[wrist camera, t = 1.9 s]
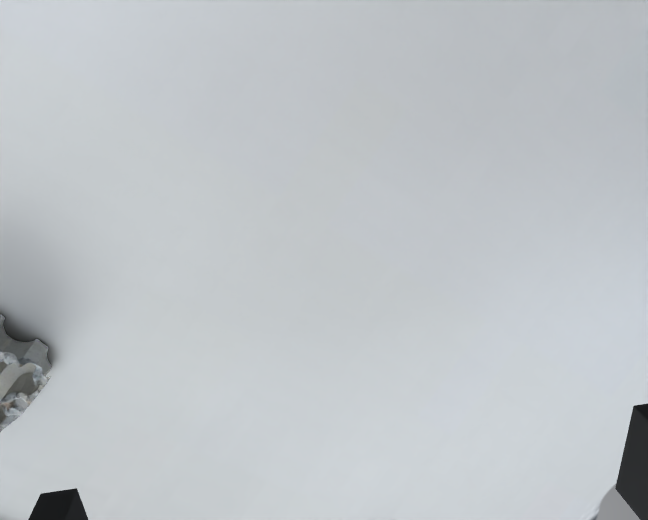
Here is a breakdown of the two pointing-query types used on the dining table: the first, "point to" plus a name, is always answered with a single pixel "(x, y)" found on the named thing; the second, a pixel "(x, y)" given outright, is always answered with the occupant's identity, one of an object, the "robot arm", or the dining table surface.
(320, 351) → the dining table surface
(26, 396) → the egg carton
